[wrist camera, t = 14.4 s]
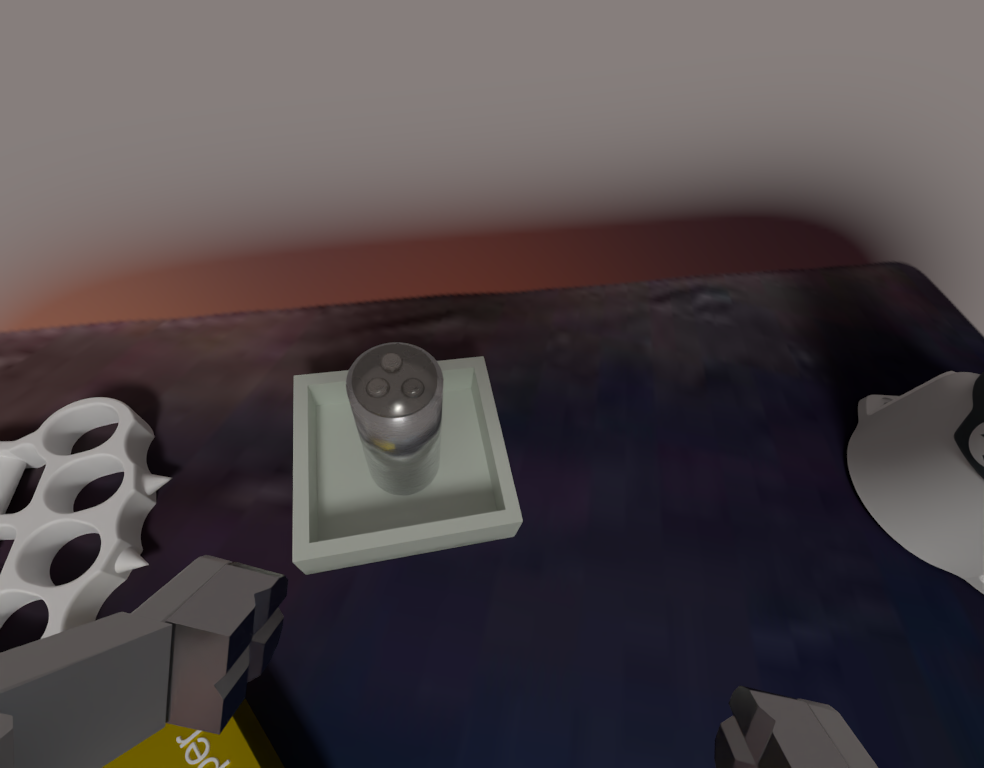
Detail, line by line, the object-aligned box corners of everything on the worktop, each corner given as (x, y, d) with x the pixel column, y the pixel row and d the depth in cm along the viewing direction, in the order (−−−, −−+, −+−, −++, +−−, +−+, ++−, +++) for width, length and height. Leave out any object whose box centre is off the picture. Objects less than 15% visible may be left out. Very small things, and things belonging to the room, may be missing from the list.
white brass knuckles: (-4, 420, 37) (200, 415, 39) (-145, 698, 28) (134, 672, 30) (-40, 398, 34) (183, 394, 36) (-211, 700, 25) (104, 670, 27)
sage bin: (479, 381, 43) (483, 356, 40) (514, 536, 36) (522, 521, 33) (304, 401, 40) (293, 375, 37) (306, 574, 33) (292, 562, 30)
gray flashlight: (434, 425, 40) (436, 329, 29) (444, 489, 37) (451, 409, 26) (365, 435, 38) (341, 339, 28) (371, 501, 36) (346, 423, 25)
